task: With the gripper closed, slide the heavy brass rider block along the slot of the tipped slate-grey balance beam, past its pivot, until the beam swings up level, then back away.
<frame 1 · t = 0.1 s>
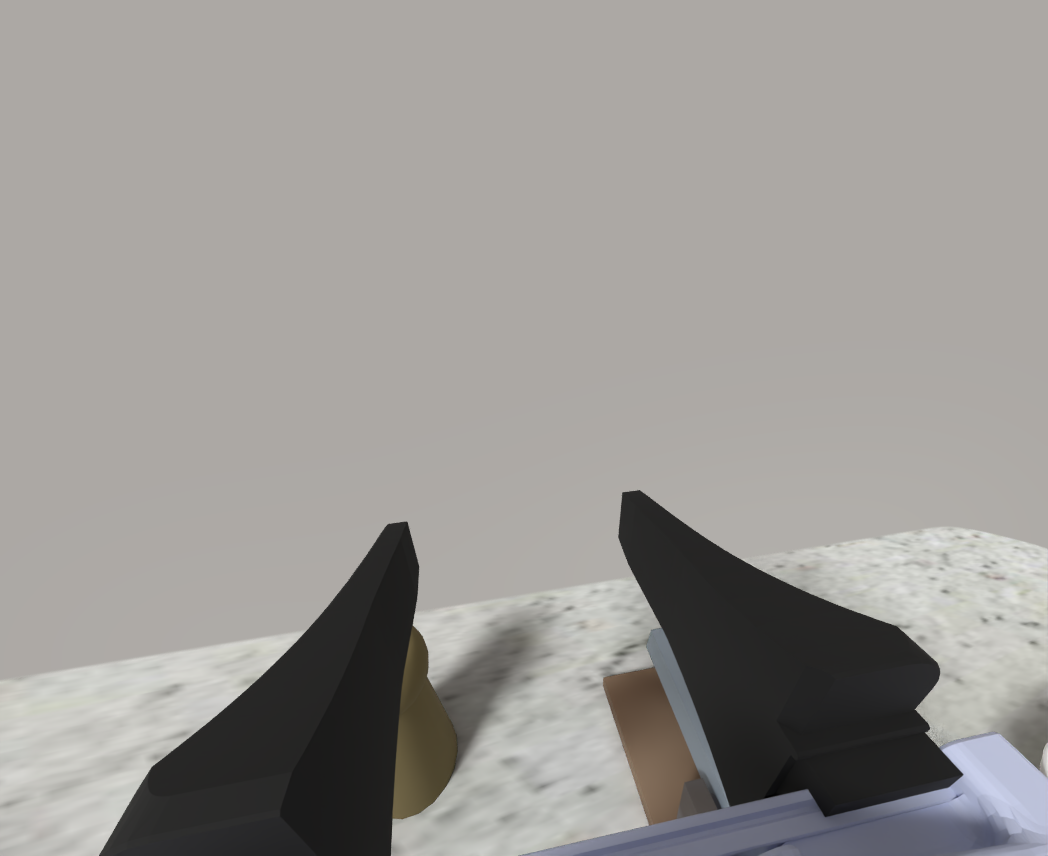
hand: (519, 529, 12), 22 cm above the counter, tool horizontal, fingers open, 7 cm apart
beam: (817, 812, 18), point 5 cm above the counter, hinge at -9.8°, touching rider
cork: (412, 759, 25), on the counter
stand: (778, 827, 21), on the counter
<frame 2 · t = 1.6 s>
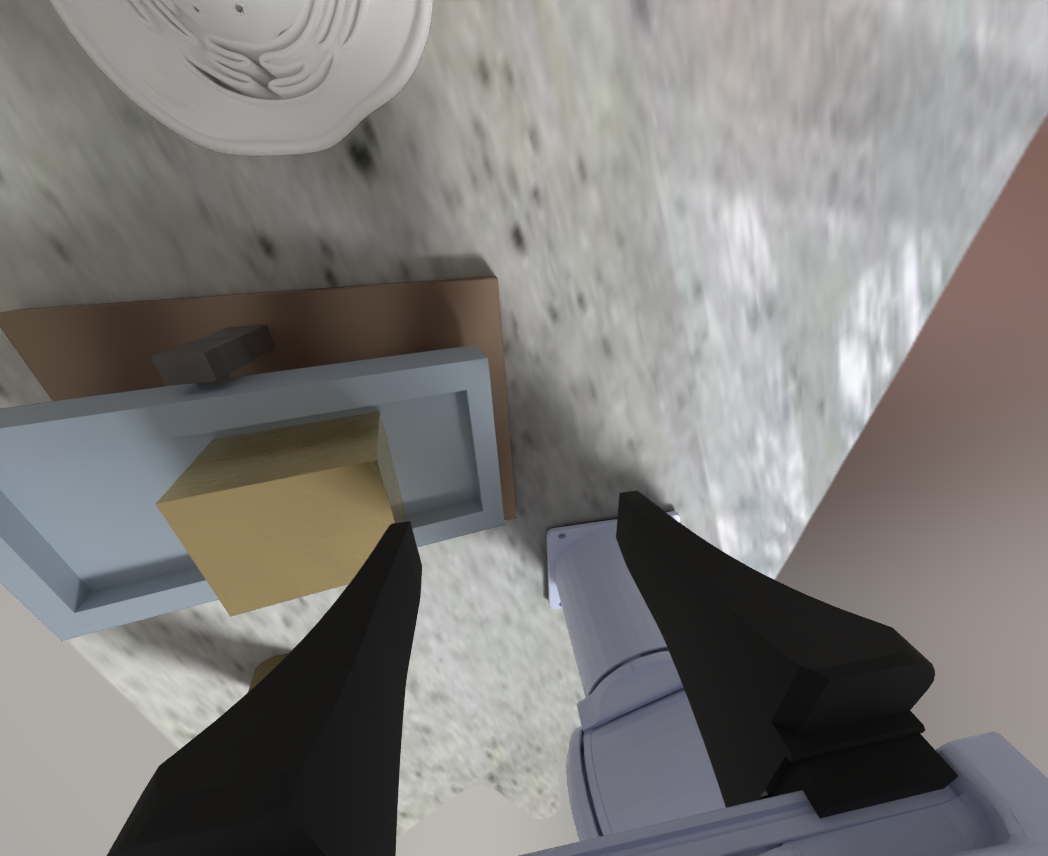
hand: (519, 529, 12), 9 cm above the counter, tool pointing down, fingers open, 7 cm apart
beam: (284, 482, 15), point 5 cm above the counter, hinge at -9.9°, touching rider
rider: (320, 476, 16), point 5 cm above the counter, tilted 10°, touching beam
cork: (298, 674, 29), on the counter
stand: (301, 432, 20), on the counter
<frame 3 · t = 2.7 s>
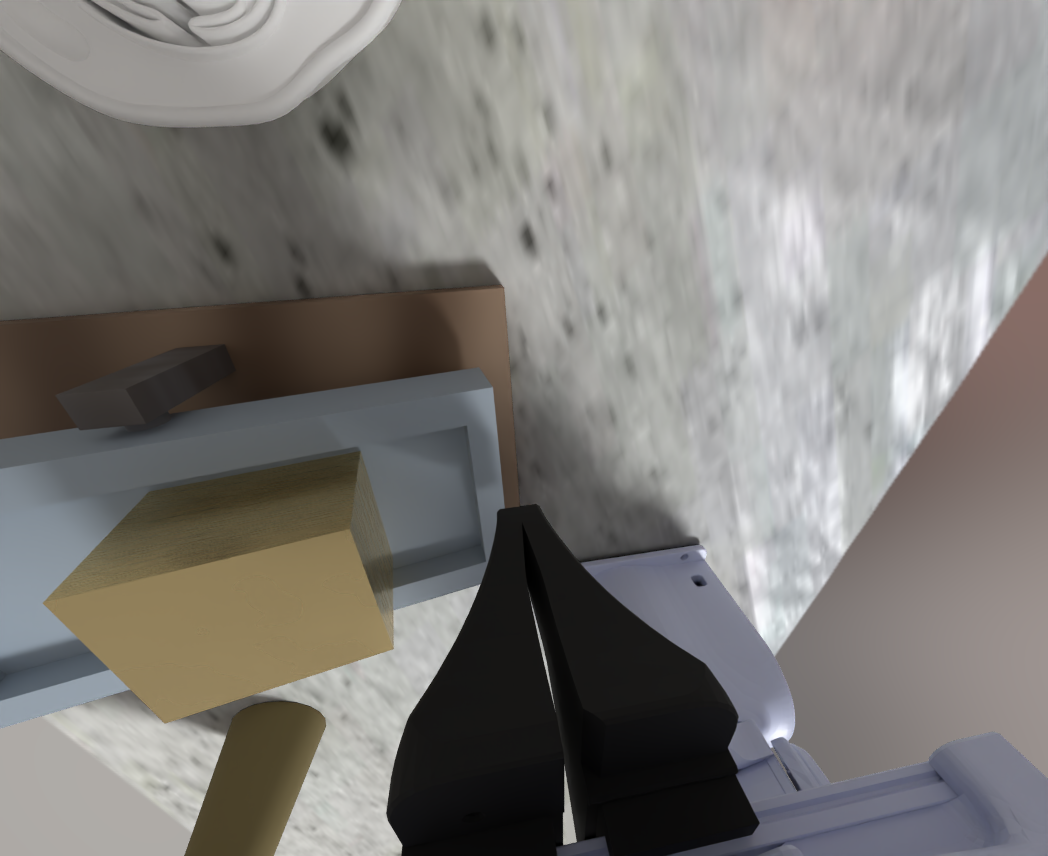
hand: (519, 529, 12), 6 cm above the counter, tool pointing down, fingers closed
beam: (244, 537, 13), point 5 cm above the counter, hinge at -9.9°, touching rider
rider: (288, 528, 13), point 5 cm above the counter, tilted 10°, touching beam
cork: (280, 722, 26), on the counter
stand: (273, 465, 17), on the counter
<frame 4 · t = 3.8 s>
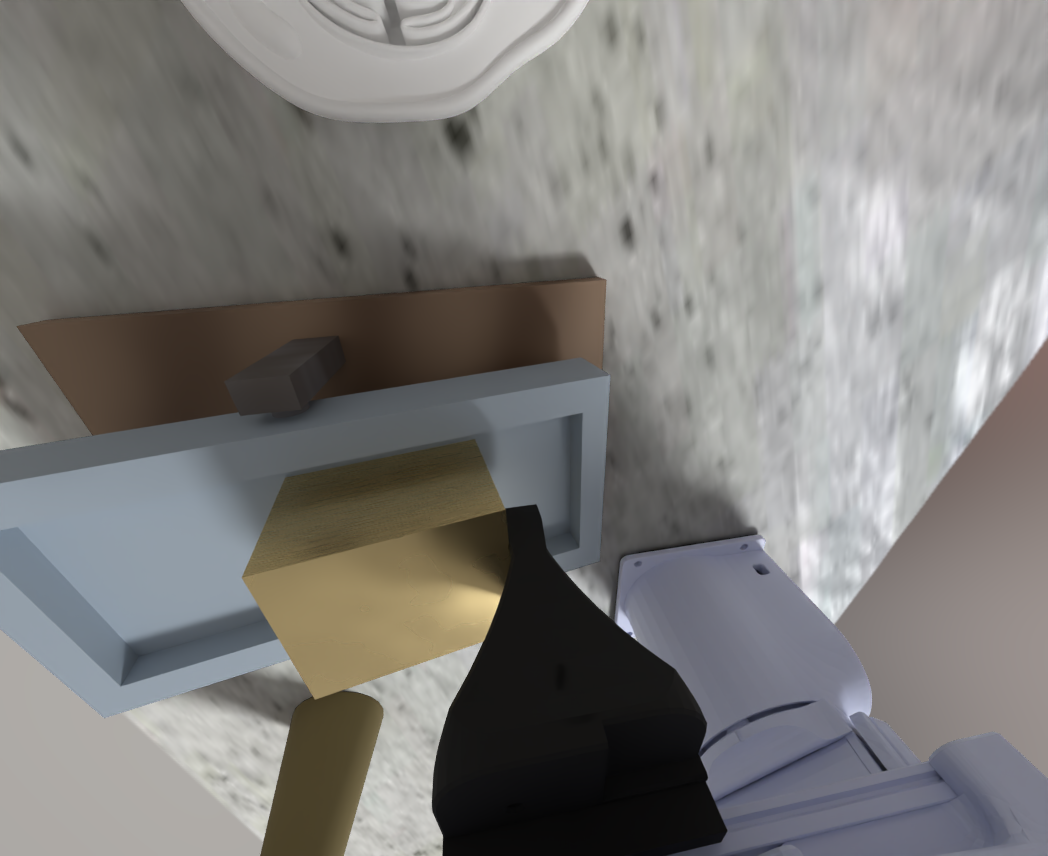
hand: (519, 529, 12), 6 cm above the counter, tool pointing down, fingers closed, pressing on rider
beam: (362, 522, 13), point 5 cm above the counter, hinge at -9.9°, touching rider
rider: (401, 515, 13), point 5 cm above the counter, tilted 10°, touching beam, gripper
cork: (340, 712, 27), on the counter
stand: (363, 456, 17), on the counter
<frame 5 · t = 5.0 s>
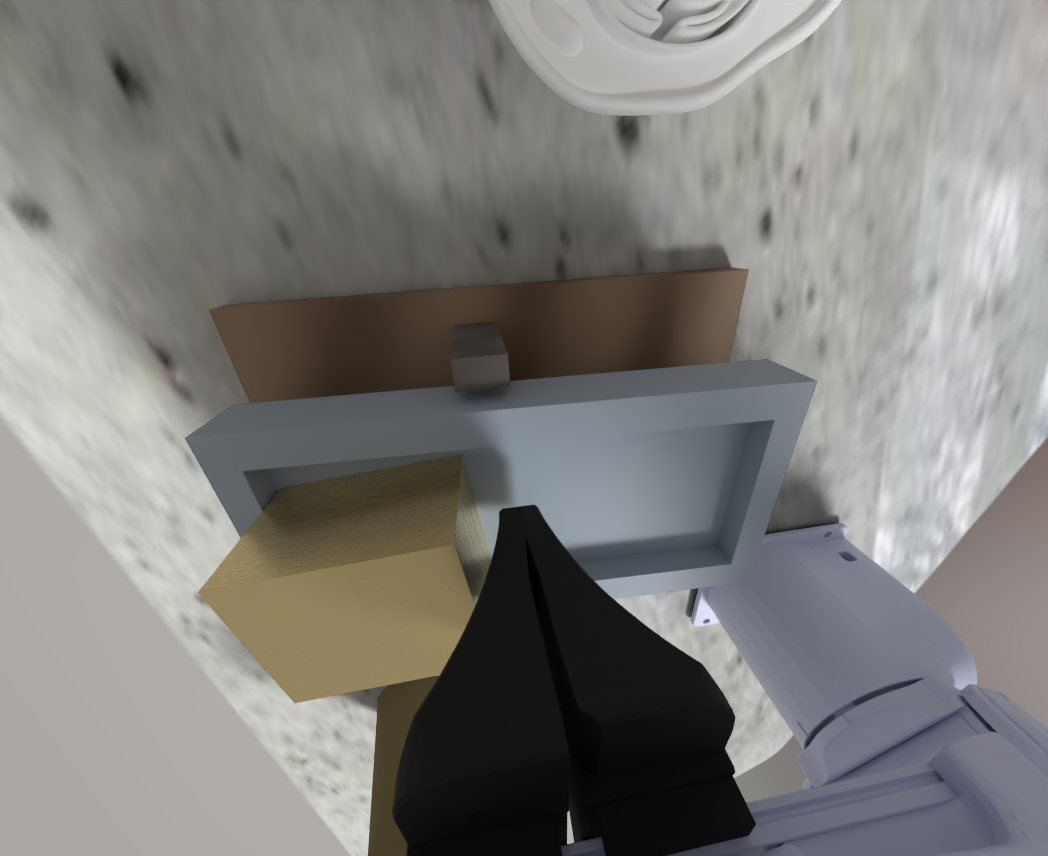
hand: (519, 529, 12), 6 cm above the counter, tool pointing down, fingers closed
beam: (522, 504, 13), point 5 cm above the counter, hinge at 2.4°, touching rider
rider: (396, 527, 13), point 5 cm above the counter, touching beam, gripper
cork: (421, 696, 27), on the counter
stand: (488, 441, 18), on the counter
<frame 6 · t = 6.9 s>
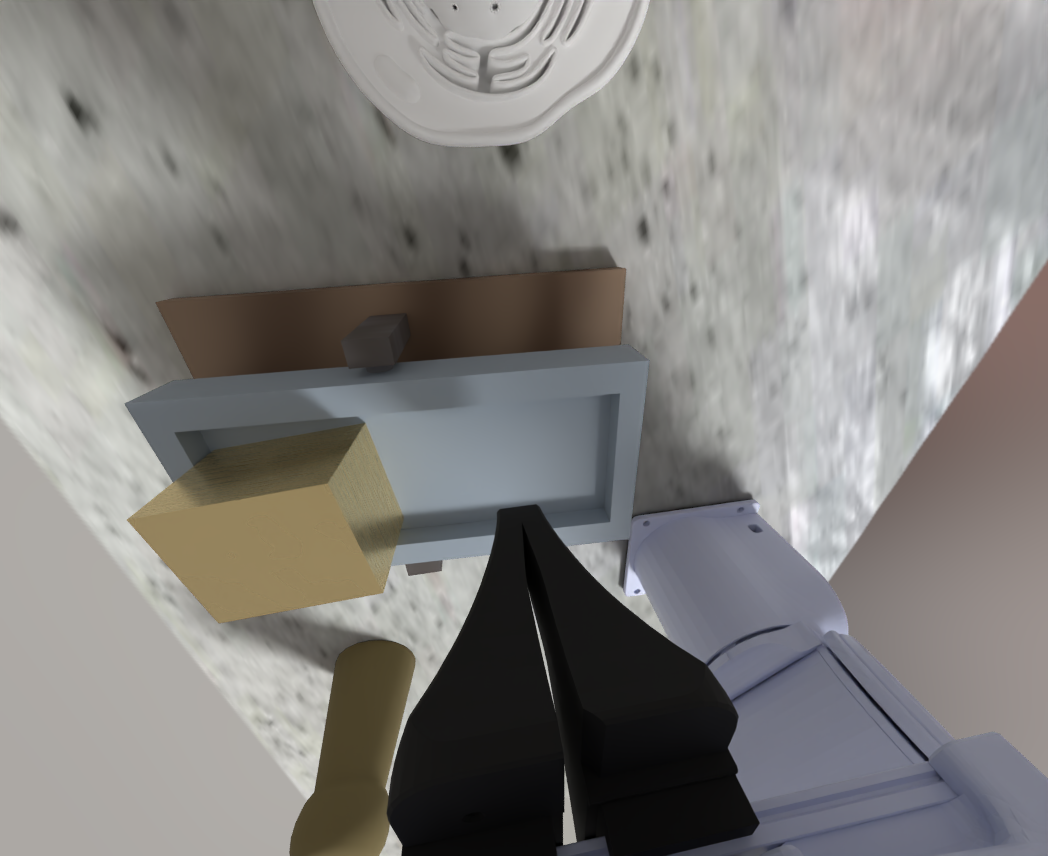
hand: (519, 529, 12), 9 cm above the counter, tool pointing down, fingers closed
beam: (425, 468, 16), point 5 cm above the counter, hinge at 2.6°, touching rider
rider: (316, 486, 16), point 5 cm above the counter, touching beam
cork: (377, 661, 29), on the counter
stand: (415, 419, 20), on the counter
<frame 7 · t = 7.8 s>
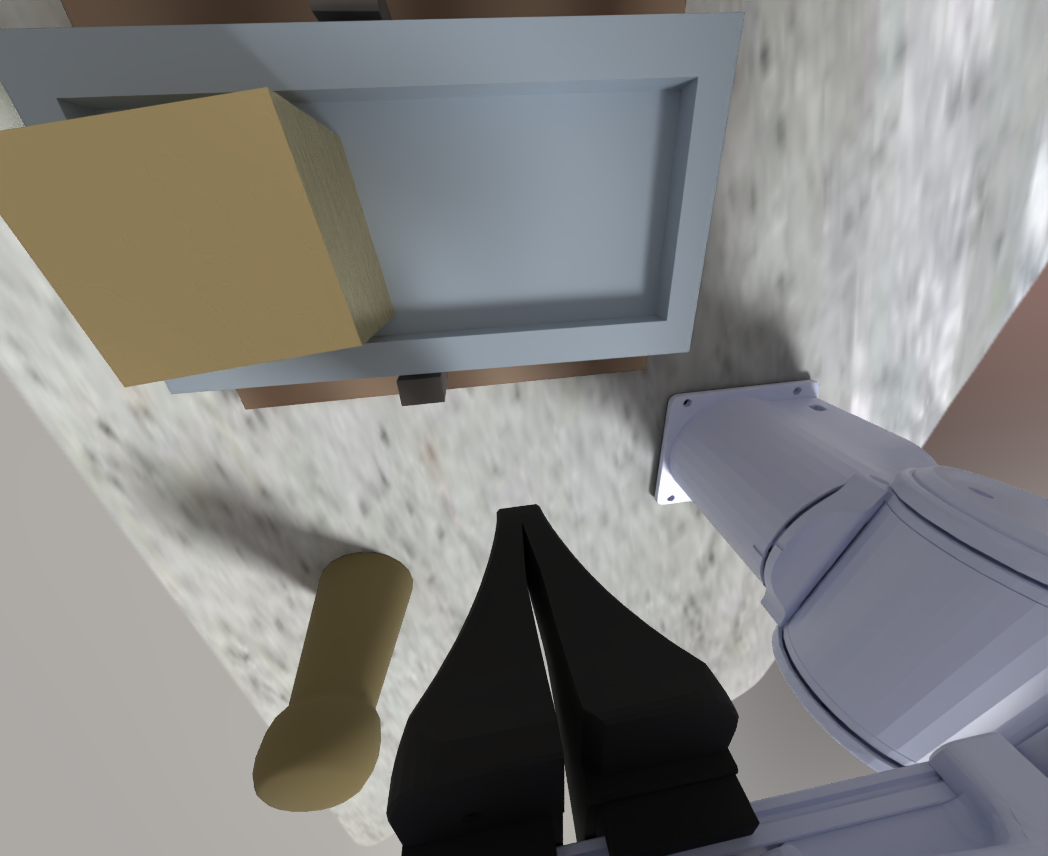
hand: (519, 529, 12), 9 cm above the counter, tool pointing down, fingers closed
beam: (423, 230, 12), point 5 cm above the counter, hinge at 2.6°, touching rider
rider: (276, 250, 12), point 5 cm above the counter, touching beam
cork: (368, 582, 25), on the counter
stand: (411, 232, 16), on the counter
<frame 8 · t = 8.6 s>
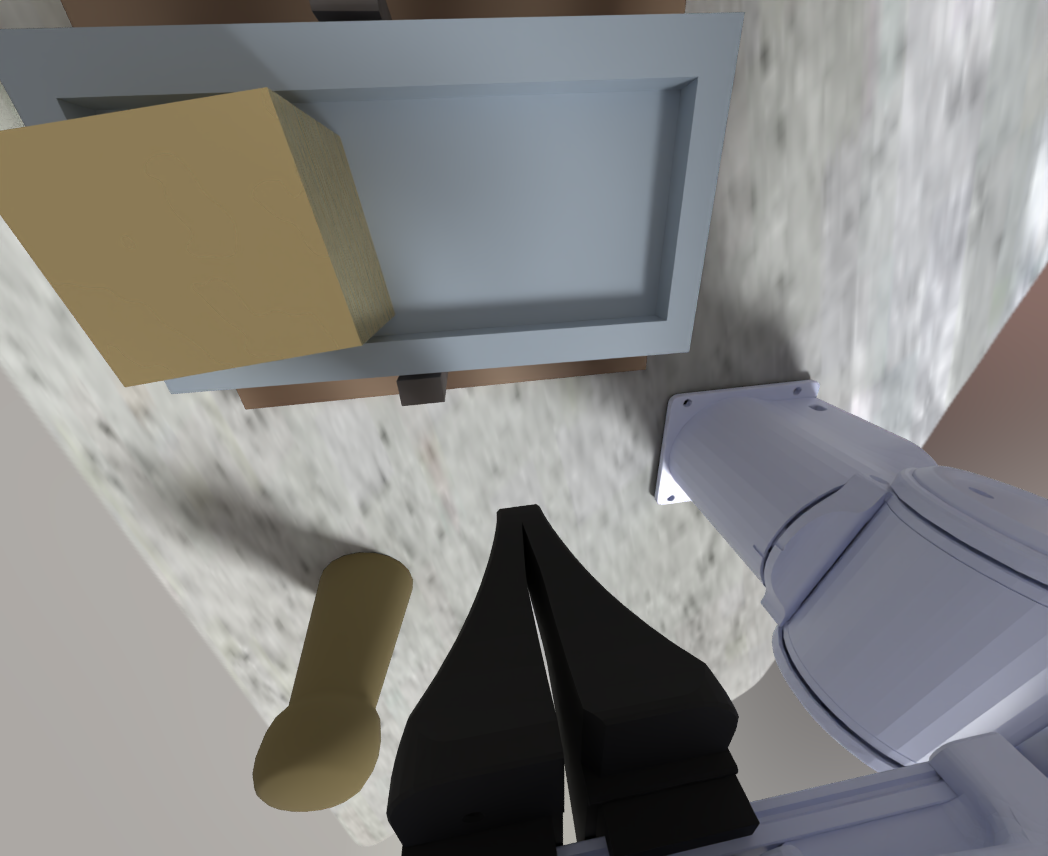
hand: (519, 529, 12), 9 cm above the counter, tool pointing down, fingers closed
beam: (423, 230, 12), point 5 cm above the counter, hinge at 2.6°, touching rider
rider: (276, 250, 12), point 5 cm above the counter, touching beam
cork: (368, 582, 25), on the counter
stand: (411, 232, 16), on the counter
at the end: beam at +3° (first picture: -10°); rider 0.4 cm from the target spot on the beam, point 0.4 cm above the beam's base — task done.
